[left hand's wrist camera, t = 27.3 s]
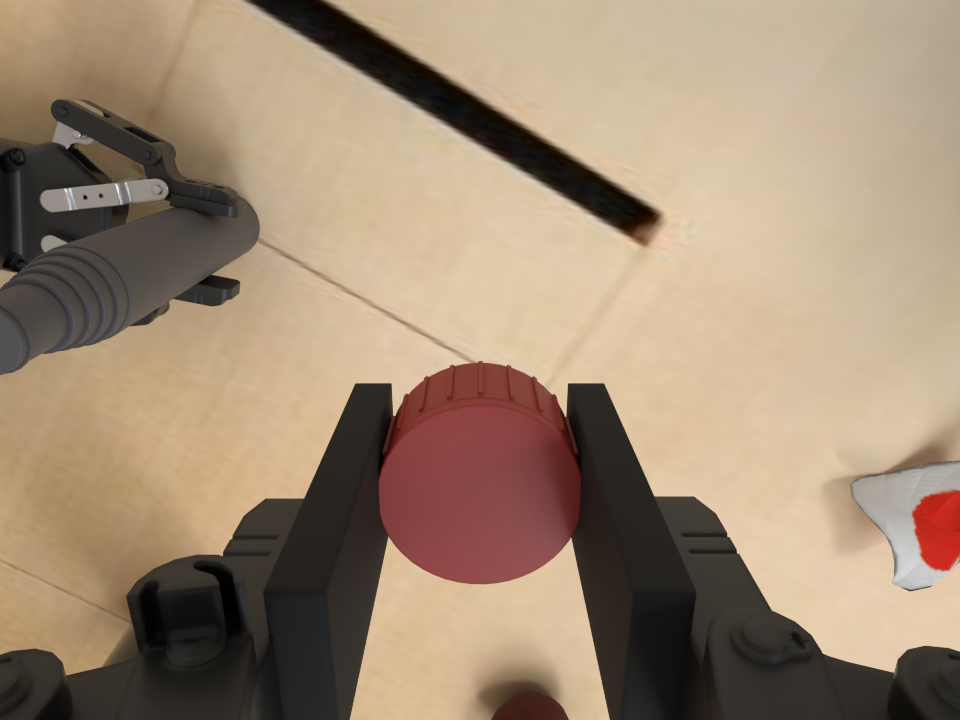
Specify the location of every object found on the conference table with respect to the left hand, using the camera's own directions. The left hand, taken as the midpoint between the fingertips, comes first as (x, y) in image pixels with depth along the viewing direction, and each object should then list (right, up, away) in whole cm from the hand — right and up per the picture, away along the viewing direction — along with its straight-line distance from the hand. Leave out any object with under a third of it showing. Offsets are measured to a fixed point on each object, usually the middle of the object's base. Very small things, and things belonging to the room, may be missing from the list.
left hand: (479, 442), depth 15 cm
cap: (0, -1, -2) cm, 2 cm away
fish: (+35, -10, +39) cm, 54 cm away
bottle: (-17, +11, +32) cm, 38 cm away
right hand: (-14, +8, +26) cm, 31 cm away
